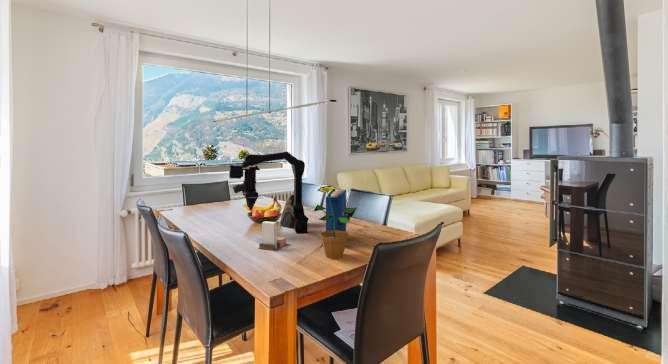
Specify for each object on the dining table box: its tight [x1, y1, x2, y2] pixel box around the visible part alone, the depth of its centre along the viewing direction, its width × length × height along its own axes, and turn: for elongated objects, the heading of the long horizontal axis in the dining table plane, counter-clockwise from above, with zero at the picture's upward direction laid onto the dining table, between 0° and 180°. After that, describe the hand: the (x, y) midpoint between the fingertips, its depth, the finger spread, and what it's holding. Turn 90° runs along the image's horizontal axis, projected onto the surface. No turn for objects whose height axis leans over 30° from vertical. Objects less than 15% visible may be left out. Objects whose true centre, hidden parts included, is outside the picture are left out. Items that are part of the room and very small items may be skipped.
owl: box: [279, 192, 297, 230], centre depth 203 cm, size 13×13×20 cm
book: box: [325, 188, 347, 232], centre depth 172 cm, size 22×7×25 cm, turn 168°
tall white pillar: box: [261, 220, 278, 249], centre depth 158 cm, size 2×6×12 cm, turn 70°
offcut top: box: [277, 236, 287, 243], centre depth 164 cm, size 5×8×2 cm, turn 70°
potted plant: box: [313, 185, 358, 260], centre depth 148 cm, size 18×19×30 cm
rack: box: [257, 242, 288, 252], centre depth 161 cm, size 12×9×3 cm
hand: (249, 208), depth 180 cm, fingers open, 9 cm apart
